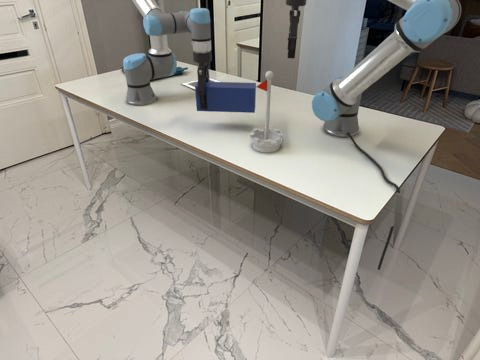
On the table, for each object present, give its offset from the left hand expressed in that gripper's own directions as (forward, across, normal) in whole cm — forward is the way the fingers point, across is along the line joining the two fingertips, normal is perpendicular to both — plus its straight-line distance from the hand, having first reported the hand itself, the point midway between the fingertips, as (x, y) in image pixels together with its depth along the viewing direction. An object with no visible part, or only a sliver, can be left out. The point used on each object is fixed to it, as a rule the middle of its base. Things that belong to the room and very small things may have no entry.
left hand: (205, 105), depth 150 cm
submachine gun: (+10, -79, -44) cm, 91 cm away
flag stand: (+10, +18, +28) cm, 35 cm away
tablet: (+10, -54, -6) cm, 56 cm away
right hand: (-22, 0, +36) cm, 42 cm away
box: (+1, 0, +9) cm, 9 cm away
